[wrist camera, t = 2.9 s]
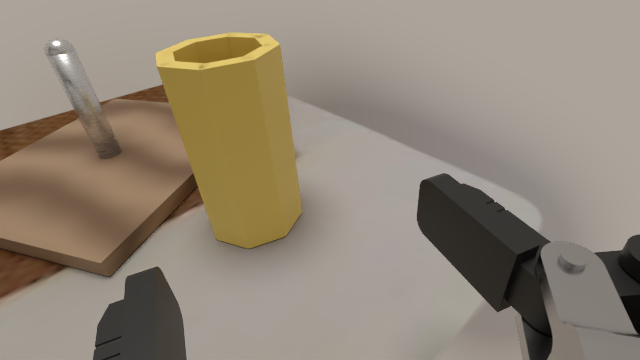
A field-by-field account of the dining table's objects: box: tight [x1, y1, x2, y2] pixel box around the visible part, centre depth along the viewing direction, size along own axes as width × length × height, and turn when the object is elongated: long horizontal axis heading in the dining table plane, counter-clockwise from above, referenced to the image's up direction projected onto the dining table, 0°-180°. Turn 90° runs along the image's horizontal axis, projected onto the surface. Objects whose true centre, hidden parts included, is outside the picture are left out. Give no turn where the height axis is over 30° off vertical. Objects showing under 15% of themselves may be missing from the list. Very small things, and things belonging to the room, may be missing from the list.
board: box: [0, 99, 198, 277], centre depth 30 cm, size 20×18×1 cm
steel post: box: [45, 38, 122, 159], centre depth 27 cm, size 2×2×10 cm
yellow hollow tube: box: [156, 33, 302, 249], centre depth 21 cm, size 6×6×11 cm
